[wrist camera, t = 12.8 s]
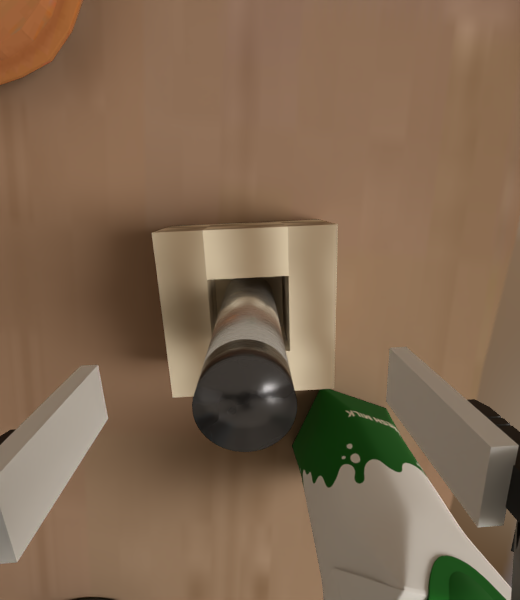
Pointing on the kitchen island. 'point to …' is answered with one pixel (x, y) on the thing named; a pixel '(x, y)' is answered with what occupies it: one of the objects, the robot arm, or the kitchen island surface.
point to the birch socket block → (248, 264)
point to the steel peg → (246, 373)
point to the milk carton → (381, 512)
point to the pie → (33, 34)
